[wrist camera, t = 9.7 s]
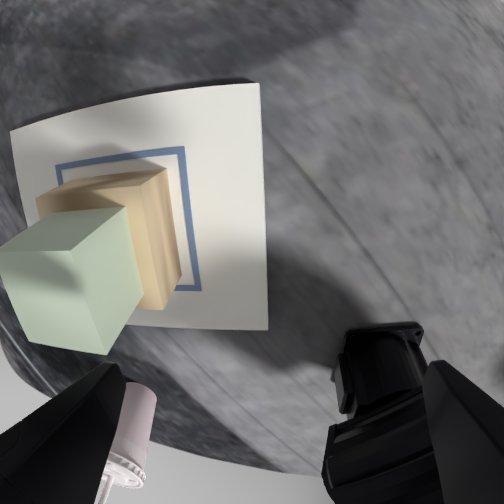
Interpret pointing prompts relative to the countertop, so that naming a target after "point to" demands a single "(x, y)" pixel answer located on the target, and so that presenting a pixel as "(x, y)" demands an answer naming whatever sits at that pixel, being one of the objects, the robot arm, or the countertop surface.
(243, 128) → the white mat
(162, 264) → the maple block
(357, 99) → the countertop surface
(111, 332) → the sage block
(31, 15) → the countertop surface
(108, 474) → the smoothie
